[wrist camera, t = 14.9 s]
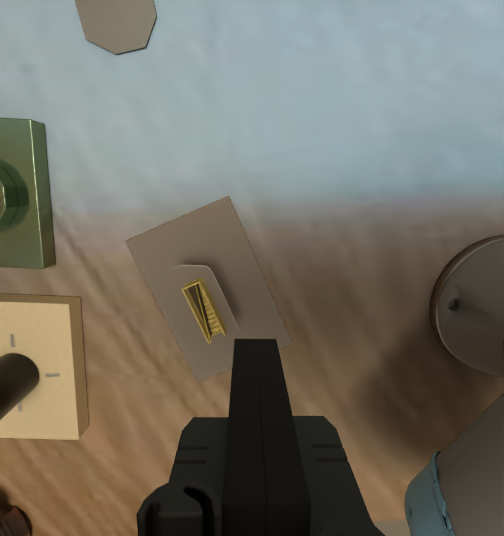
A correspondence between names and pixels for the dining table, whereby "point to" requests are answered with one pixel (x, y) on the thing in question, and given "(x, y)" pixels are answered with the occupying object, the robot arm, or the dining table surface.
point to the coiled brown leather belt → (13, 524)
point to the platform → (208, 286)
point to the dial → (15, 380)
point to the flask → (117, 23)
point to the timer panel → (46, 365)
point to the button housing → (24, 196)
